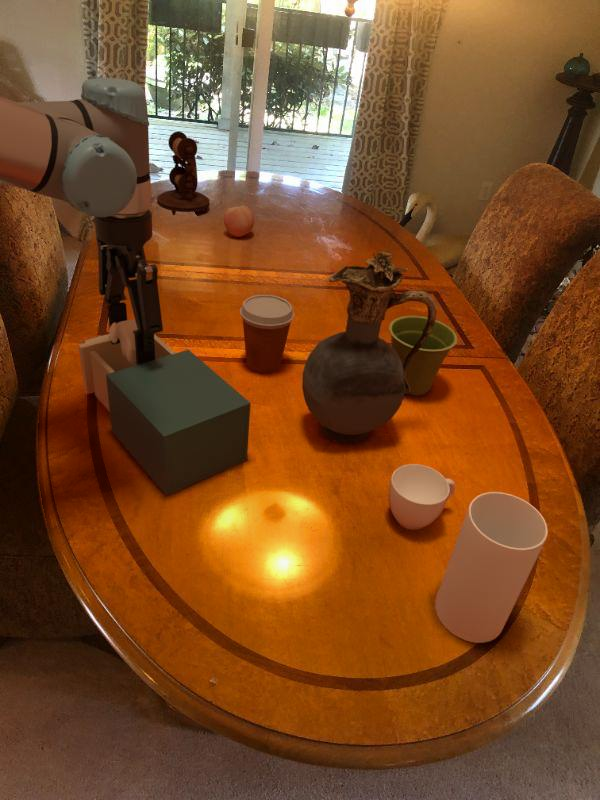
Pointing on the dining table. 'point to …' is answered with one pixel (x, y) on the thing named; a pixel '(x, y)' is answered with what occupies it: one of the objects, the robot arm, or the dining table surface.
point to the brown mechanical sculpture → (183, 178)
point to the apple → (238, 220)
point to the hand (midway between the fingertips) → (132, 353)
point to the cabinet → (178, 419)
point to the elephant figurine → (125, 337)
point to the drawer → (108, 363)
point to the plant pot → (421, 350)
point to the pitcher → (362, 356)
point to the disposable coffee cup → (265, 331)
